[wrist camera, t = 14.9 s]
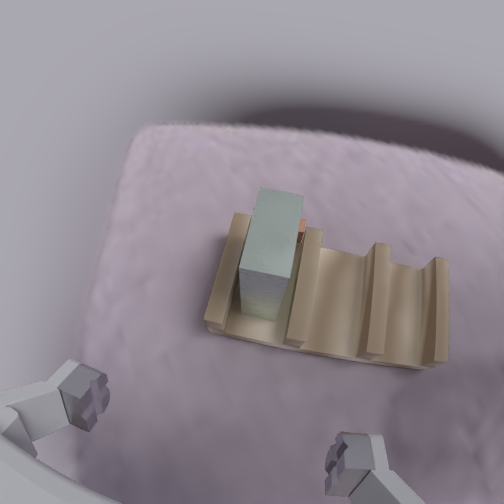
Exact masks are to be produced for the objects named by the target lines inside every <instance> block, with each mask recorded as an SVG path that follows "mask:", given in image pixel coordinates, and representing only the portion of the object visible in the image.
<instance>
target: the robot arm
mask: <svg viewBox="0 0 504 504" xmlns="http://www.w3.org/2000/svg"><path fill="white" fill-rule="evenodd" d="M107 382H108V379H107V374H105V373H103V372H101V371H98V370H96V369H94V368H92V367H89V366H87V365H85V364H83V363H80V362H78V361H76V360H74V359H69V360H67V361H66V362H65V363H64V364H63V365H62V366H61V367H60V368H59V369H58V370H57V371H56V372H55V373H54V374H53V375H52V376H51V377H50V378H49V379H48V380H47V381H46V382H44V381H39V382H35V383H31V384H28V385H24V386H20V387H16V388H12V389H8V390H3V391H0V504H122V503H120V502H118V501H115V500H113V499H111V498H109V497H106V496H104V495H102V494H100V493H98V492H96V491H94V490H91V489H89V488H87V487H85V486H83V485H82V484H80V483H78V482H76V481H74V480H72V479H70V478H68V477H66V476H65V475H63V474H61V473H59V472H58V471H56V470H54V469H52V468H51V467H49V466H47V465H46V464H44V463H43V462H41V461H39V460H38V459H36V458H35V457H36V456H37V451H36V450H35V448H34V446H33V444H32V442H33V441H35V440H37V439H40V438H42V437H44V436H46V435H48V434H51V433H53V432H55V431H57V430H59V429H62V428H64V427H66V426H68V425H70V424H72V425H74V426H76V427H78V428H80V429H82V430H85V431H87V432H90V431H91V429H92V428H93V426H94V425H95V424H96V422H97V415H99V414H101V413H103V412H104V411H105V409H106V408H107V406H108V403H109V399H110V393H109V389H108V388H107V387H106V383H107ZM69 423H70V424H69ZM335 439H336V444H334V445H332V446H331V447H330V449H329V451H328V454H327V457H326V462H325V470H326V471H327V473H328V474H329V475H328V477H327V478H326V480H325V495H331V496H344V497H348V498H349V500H350V501H351V503H352V504H426V503H425V502H424V501H423V500H422V499H421V498H420V497H419V496H418V495H417V494H416V493H415V492H414V491H413V490H412V489H411V488H410V487H409V486H408V485H407V484H406V483H405V482H404V481H403V480H402V479H401V478H400V477H399V476H398V475H397V474H396V473H395V472H394V471H390V470H389V465H388V459H387V454H386V449H385V444H384V439H383V436H382V435H374V434H361V433H349V432H340V433H338V435H337V437H336V438H335Z"/></svg>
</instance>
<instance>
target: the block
mask: <svg viewBox="0 0 504 504" xmlns="http://www.w3.org/2000/svg"><path fill="white" fill-rule="evenodd" d="M303 200H304V196H302V195H297V194H292V193H287V192H282V191H277V190H272V189H267V188H261V187H260V190H259V193H258V197H257V201H256V205H255V208H254V212H253V216H252V220H251V223H250V227H249V231H248V235H247V239H246V243H245V246H244V250H243V254H242V258H241V262H240V265H239V278H240V296H241V313H242V315H246V316H251V317H255V318H260V319H265V320H270V321H275V322H276V319H277V316H278V313H279V310H280V307H281V304H282V301H283V298H284V295H285V292H286V289H287V286H288V283H289V280H290V275H291V270H292V264H293V259H294V253H295V248H296V242H297V236H298V230H299V225H300V219H301V213H302V207H303Z"/></svg>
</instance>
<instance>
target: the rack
mask: <svg viewBox="0 0 504 504" xmlns="http://www.w3.org/2000/svg"><path fill="white" fill-rule="evenodd" d="M305 222H306V220H304V219H300V225H299V230H298V236H297V242H296V248H295V253H294V259H293V264H292V270H291V275H290V280H289V283H288V286H287V289H286V292H285V295H284V298H283V301H282V304H281V307H280V310H279V313H278V316H277V319H276V322H275V321H270V320H265V319H260V318H255V317H251V316H246V315H242V313H241V296H240V278H239V265H240V262H241V258H242V254H243V250H244V246H245V243H246V239H247V235H248V231H249V227H250V223H251V216H250V215H245V214H240V213H234V216H233V220H232V223H231V226H230V230H229V233H228V236H227V240H226V243H225V246H224V250H223V253H222V256H221V260H220V263H219V266H218V270H217V273H216V277H215V280H214V284H213V287H212V291H211V294H210V298H209V301H208V305H207V308H206V312H205V315H204V319H203V320H204V322H205V324H206V326H207V328H208V330H209V332H211V333H215V334H219V335H224V336H228V337H232V338H236V339H241V340H245V341H250V342H254V343H259V344H264V345H268V346H273V347H278V348H283V349H288V350H293V351H298V352H304V353H309V354H315V355H320V356H326V357H332V358H338V359H344V360H351V361H357V362H364V363H371V364H379V365H386V366H394V367H402V368H411V369H420V370H424V369H428V368H431V367H434V366H438V365H441V364H444V363H447V362H448V350H449V319H450V301H449V270H448V260H447V259H443V258H439V257H435V258H434V259H433V260H432V261H431V262H429V263H428V264H427V265H426V266H425V267H424V268H423V269H418V268H413V267H409V266H405V265H400V264H396V263H391V262H390V245H385V244H381V243H377V242H375V244H374V245H373V247H372V248H371V250H370V251H369V252H368V254H367V255H366V257H364V256H359V255H355V254H350V253H346V252H341V251H336V250H332V249H327V248H322V247H321V242H322V234H323V230H318V229H314V228H309V227H306V230H305V234H304V237H303V240H302V236H303V233H304V228H305ZM301 240H302V243H301Z"/></svg>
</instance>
